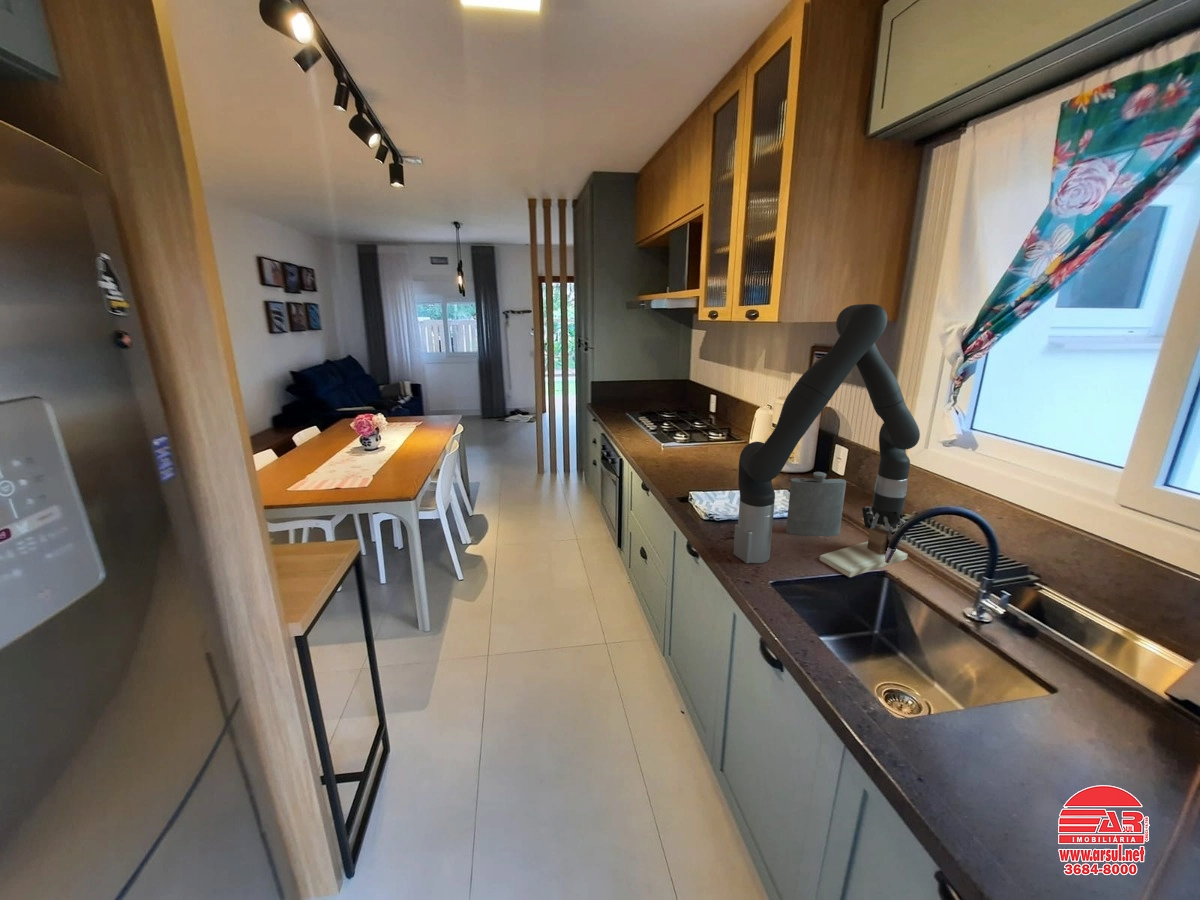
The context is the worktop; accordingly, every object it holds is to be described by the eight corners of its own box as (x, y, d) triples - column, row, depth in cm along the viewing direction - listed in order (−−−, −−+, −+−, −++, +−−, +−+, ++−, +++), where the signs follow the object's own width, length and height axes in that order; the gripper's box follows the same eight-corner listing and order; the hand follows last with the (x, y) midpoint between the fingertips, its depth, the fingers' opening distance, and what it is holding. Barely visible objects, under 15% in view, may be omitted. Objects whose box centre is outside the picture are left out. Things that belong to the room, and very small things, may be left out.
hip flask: (837, 530, 153) (845, 471, 147) (841, 536, 149) (850, 475, 143) (784, 529, 155) (790, 470, 149) (788, 535, 151) (794, 475, 145)
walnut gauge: (879, 554, 135) (882, 534, 133) (867, 548, 139) (870, 529, 137) (894, 549, 137) (898, 530, 136) (881, 543, 141) (884, 524, 139)
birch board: (849, 577, 128) (850, 572, 127) (819, 560, 136) (820, 554, 136) (906, 558, 136) (907, 553, 135) (874, 543, 145) (875, 538, 144)
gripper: (857, 485, 138) (850, 539, 143) (905, 503, 125) (895, 562, 130) (876, 480, 141) (868, 534, 146) (924, 497, 128) (914, 555, 133)
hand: (881, 547), depth 138 cm, fingers closed on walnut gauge, 4 cm apart
